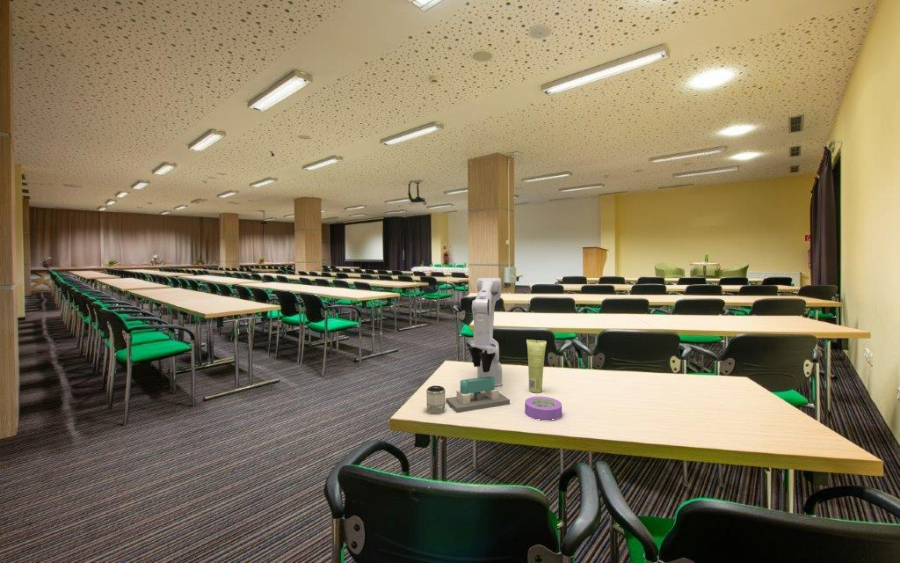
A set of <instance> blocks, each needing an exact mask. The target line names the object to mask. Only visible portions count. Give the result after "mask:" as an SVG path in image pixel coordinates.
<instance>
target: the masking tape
mask: <svg viewBox="0 0 900 563" xmlns="http://www.w3.org/2000/svg"><path fill="white" fill-rule="evenodd" d="M562 411H563V404H562V402H561V401H559V400H558V399H555V398H553V397H550V396H549V397H548V396H540V395H539V396H536V395H535V396H531V397H528V398H526V399H525V400H524V414H525V413H526V414H525V416H527V417H529V418H530V417H531V419H533V418H534V420H536V419H540V420H539V421H542V420H552V419H557V418H559V417H561V418H562V416H561V415H562V414H563V413H562ZM559 419H560V418H559ZM557 420H558V419H557ZM552 421H553V420H552Z"/></svg>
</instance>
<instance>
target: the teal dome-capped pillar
mask: <svg viewBox="0 0 900 563" xmlns="http://www.w3.org/2000/svg"><path fill="white" fill-rule="evenodd" d="M494 389H496V386H495V377H492V376H488V377H480V378H477V377H475V378H474V377H473V378H467V379H461V380H460V382H459V390H460V393H461V394H474V393H476V392H481V393H484V392H485V391H489V390H494Z"/></svg>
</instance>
